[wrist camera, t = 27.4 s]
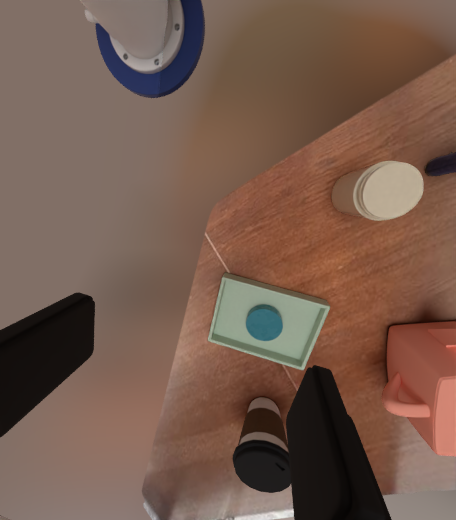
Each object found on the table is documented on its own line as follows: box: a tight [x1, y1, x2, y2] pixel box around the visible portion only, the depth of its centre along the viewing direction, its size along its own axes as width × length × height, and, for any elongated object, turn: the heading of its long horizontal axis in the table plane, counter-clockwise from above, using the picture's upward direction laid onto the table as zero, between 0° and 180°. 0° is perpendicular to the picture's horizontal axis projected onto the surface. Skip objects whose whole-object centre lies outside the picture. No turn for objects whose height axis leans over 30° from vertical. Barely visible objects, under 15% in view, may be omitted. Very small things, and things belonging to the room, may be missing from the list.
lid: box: [246, 304, 283, 341], centre depth 40 cm, size 7×7×2 cm
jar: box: [331, 161, 424, 221], centre depth 28 cm, size 7×7×11 cm
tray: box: [208, 272, 330, 370], centre depth 40 cm, size 19×14×2 cm
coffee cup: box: [233, 397, 291, 493], centre depth 42 cm, size 11×11×12 cm
